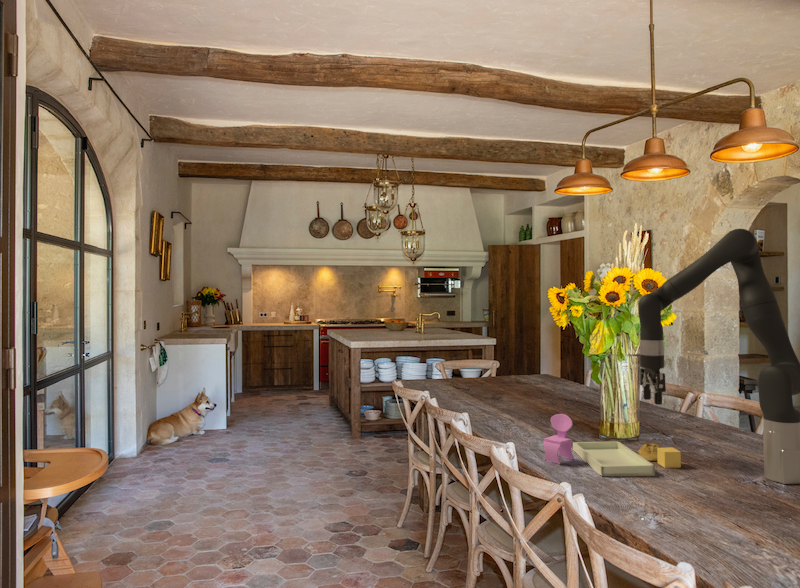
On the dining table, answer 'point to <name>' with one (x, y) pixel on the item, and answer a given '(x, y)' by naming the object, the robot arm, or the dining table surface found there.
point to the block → (669, 457)
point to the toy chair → (559, 439)
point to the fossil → (649, 451)
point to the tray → (613, 459)
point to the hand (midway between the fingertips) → (652, 401)
